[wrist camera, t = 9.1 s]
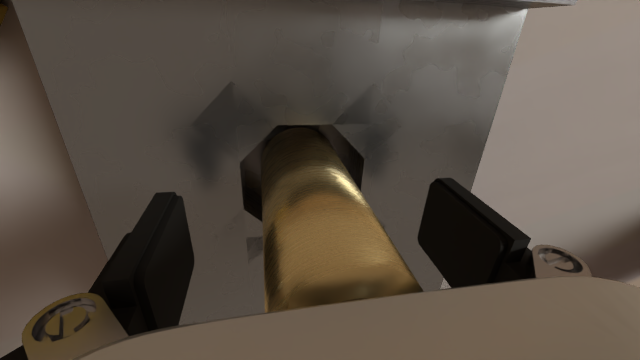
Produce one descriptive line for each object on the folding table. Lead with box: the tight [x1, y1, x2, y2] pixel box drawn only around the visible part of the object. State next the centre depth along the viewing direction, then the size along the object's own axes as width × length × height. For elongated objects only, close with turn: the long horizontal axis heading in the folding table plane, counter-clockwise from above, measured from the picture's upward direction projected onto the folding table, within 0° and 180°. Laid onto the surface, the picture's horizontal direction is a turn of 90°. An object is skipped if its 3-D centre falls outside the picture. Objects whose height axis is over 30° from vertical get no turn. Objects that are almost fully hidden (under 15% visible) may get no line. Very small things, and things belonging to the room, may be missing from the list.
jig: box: [12, 0, 577, 325], centre depth 15 cm, size 18×18×6 cm
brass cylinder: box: [261, 127, 424, 313], centre depth 11 cm, size 4×4×10 cm
